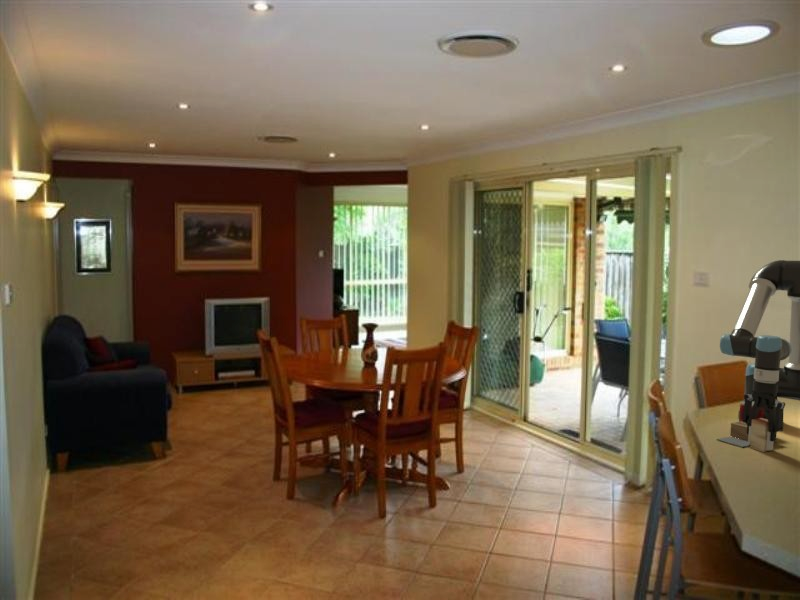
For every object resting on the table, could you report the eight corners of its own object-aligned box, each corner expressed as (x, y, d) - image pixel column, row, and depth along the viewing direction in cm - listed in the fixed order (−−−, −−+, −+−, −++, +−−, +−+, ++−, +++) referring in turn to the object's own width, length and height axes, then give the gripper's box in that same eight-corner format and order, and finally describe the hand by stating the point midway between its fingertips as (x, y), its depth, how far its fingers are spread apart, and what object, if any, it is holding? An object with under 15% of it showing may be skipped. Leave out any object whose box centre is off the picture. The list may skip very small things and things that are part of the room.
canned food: (765, 435, 249) (767, 406, 248) (741, 433, 251) (743, 404, 250) (758, 430, 257) (760, 401, 256) (736, 428, 258) (737, 400, 257)
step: (744, 434, 251) (745, 420, 250) (775, 442, 240) (776, 428, 240) (730, 436, 247) (731, 423, 246) (761, 445, 236) (762, 431, 236)
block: (759, 446, 235) (760, 418, 235) (772, 450, 231) (774, 421, 230) (750, 447, 233) (751, 419, 232) (763, 451, 229) (765, 423, 228)
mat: (731, 437, 245) (731, 436, 245) (756, 444, 237) (756, 443, 237) (716, 440, 242) (716, 439, 242) (742, 447, 233) (742, 446, 233)
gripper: (733, 376, 237) (728, 440, 239) (786, 387, 220) (779, 456, 222) (747, 374, 240) (742, 438, 242) (799, 386, 223) (793, 453, 226)
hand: (760, 446), depth 232 cm, fingers open, 6 cm apart
